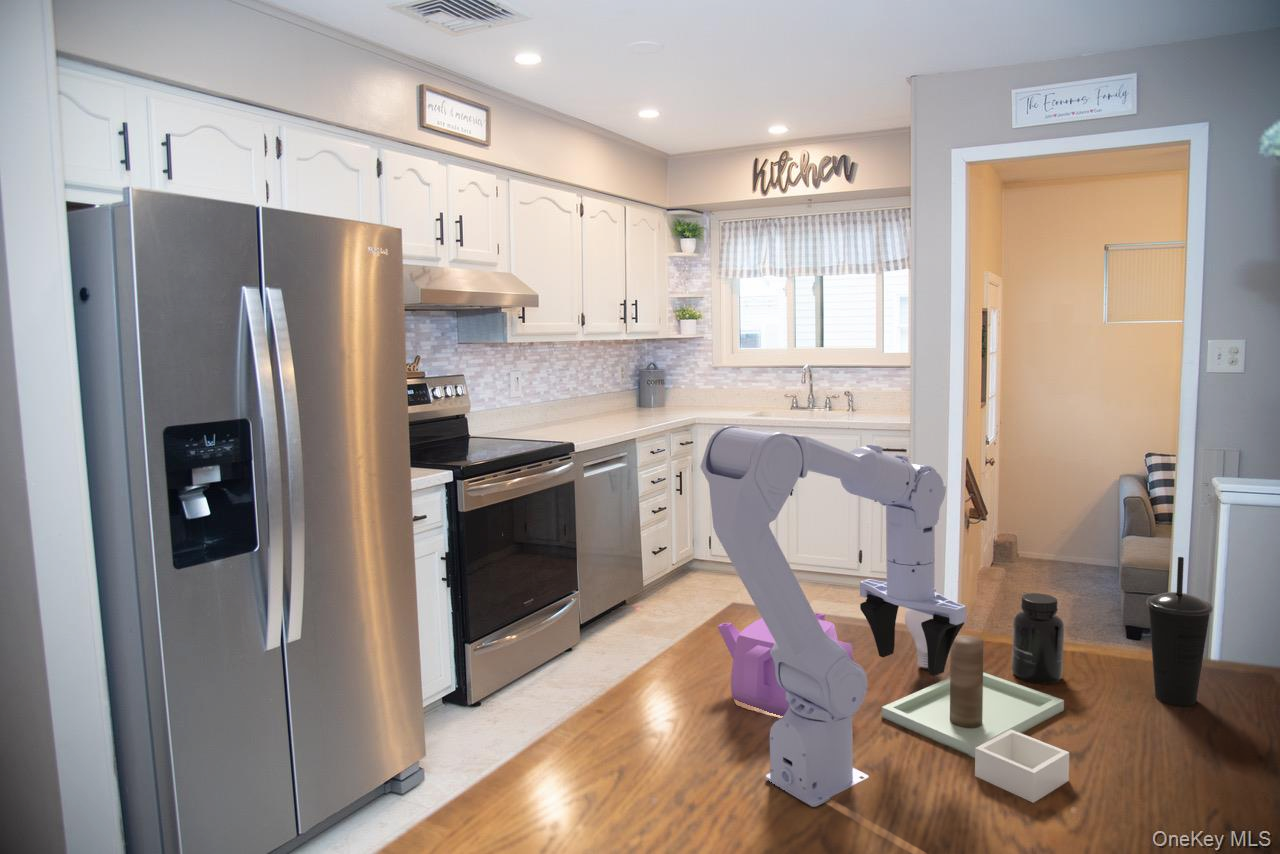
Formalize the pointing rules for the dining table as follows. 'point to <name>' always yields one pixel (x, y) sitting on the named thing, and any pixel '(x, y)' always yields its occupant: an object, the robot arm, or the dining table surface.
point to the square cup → (1022, 765)
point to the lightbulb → (918, 634)
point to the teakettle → (761, 664)
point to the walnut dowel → (966, 681)
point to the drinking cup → (1177, 642)
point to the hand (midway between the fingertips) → (910, 663)
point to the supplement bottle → (1038, 640)
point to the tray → (1000, 712)
